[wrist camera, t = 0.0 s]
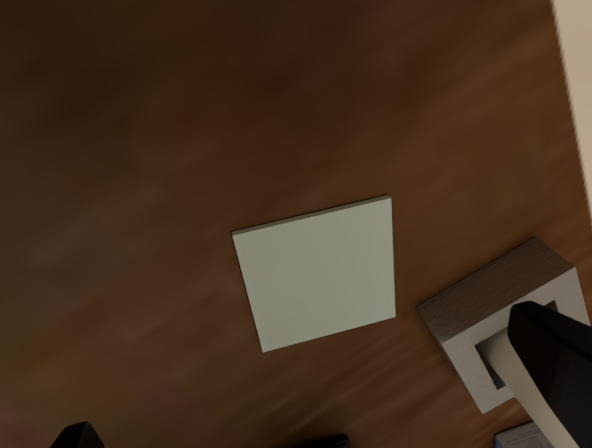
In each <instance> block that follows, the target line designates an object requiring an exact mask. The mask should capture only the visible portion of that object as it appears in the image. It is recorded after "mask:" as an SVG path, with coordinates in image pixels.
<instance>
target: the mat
mask: <svg viewBox="0 0 592 448" xmlns="http://www.w3.org/2000/svg"><path fill="white" fill-rule="evenodd" d="M232 236H233V240H234V244H235V248H236V252H237V255H238V259H239V263H240V267H241V271H242V274H243V278H244V282H245V286H246V290H247V294H248V297H249V301H250V305H251V309H252V313H253V316H254V320H255V324H256V328H257V332H258V336H259V339H260V343H261V347H262V351H263V352H266V351H270V350H274V349H278V348H281V347H285V346H289V345H292V344H296V343H300V342H304V341H307V340H311V339H315V338H319V337H322V336H326V335H330V334H334V333H337V332H341V331H345V330H348V329H352V328H356V327H360V326H363V325H367V324H371V323H375V322H378V321H382V320H386V319H389V318H393V317H395V291H394V264H393V237H392V209H391V197H390V196H389V195H386V196H382V197H378V198H373V199H369V200H365V201H361V202H356V203H352V204H348V205H344V206H339V207H335V208H331V209H327V210H323V211H318V212H314V213H310V214H306V215H301V216H297V217H293V218H289V219H284V220H280V221H276V222H272V223H267V224H263V225H259V226H255V227H250V228H246V229H242V230H238V231H234V232H232Z"/></svg>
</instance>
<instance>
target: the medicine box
mask: <svg viewBox="0 0 592 448" xmlns="http://www.w3.org/2000/svg"><path fill="white" fill-rule="evenodd" d="M495 448H554V446H553V445H552V444H551V443H550V441H549V440H548V439H547V437H546V436H545V435H544V433H543V432H542V431H541V430H540V428H539V427H538V426H537V424H536V423H535V422H534V421H533V422H530V423H527V424H524V425H521V426H518V427H515V428H513V429H510V430H507V431H504V432H502V433H498V434H496V435H495Z"/></svg>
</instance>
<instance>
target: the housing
mask: <svg viewBox="0 0 592 448" xmlns="http://www.w3.org/2000/svg"><path fill="white" fill-rule="evenodd" d="M524 301H534V302H536V303H539V304H541V305H543V306H545V307H548V308H550V309H552V310H555V311H557V312H559V313H561V314H564V315H566V316H568V317H571V318H573V319H575V320H577V321H580V322H582V323H584V324H587V325H589V326H590V322H589V318H588V314H587V311H586V307H585V303H584V299H583V295H582V291H581V287H580V284H579V280H578V276H577V272H576V268H575V266H573V265H572V264H571V263H569V262H568V261H567V260H565V259H564V258H563V257H562V256H560V255H559V254H558V253H556V252H555V251H554V250H552V249H551V248H550V247H548V246H547V245H546V244H544V243H543V242H542V241H540V240H539V239H538V238H536V237H534V238H532V239H530V240H529V241H527V242H525V243H524V244H522V245H520V246H519V247H517V248H515V249H514V250H512V251H510V252H508V253H507V254H505V255H503V256H502V257H500V258H498V259H497V260H495V261H493V262H491V263H490V264H488V265H486V266H485V267H483V268H481V269H480V270H478V271H476V272H475V273H473V274H471V275H469V276H468V277H466V278H464V279H463V280H461V281H459V282H458V283H456V284H454V285H452V286H451V287H449V288H447V289H446V290H444V291H442V292H441V293H439V294H437V295H435V296H434V297H432V298H430V299H429V300H427V301H425V302H424V303H422V304H420V305H419V306H417V307H416V308H417V309H418V311H419V313H420V315H421V316H422V318H423V320H424V321H425V323H426V325H427V326H428V328H429V330H430V331H431V333H432V335H433V337H434V338H435V340H436V342H437V343H438V345H439V347H440V348H441V350H442V352H443V353H444V355H445V357H446V359H447V360H448V362H449V364H450V365H451V367H452V369H453V370H454V372H455V374H456V375H457V377H458V379H459V380H460V382H461V383H462V385H463V386H464V388H465V389H466V391H467V392H468V394H469V395H470V397H471V398H472V399H473V401H474V402H475V404H476V405H477V407H478V408H479V410H480V411H481V413H482V414H484V413H486V412H487V411H489V410H491V409H493V408H495V407H496V406H498V405H500V404H502V403H504V402H505V401H507V400H509V399H511V398H513V397H514V395H513V393H512V392H511V391H510V389H509V388H508V387H507V386H506V384H505V383H504V382H503V380H502V379H501V378H500V377H499V375H498V374H497V373H496V371H495V370H494V369H493V368H492V366H491V365H490V364H489V362H488V361H487V360H486V358H485V357H484V356H483V355H482V353H481V352H480V351H479V349H476V348H475V346H474V345H476V344H478V343H479V342H481V341H483V340H485V339H486V338H488V337H490V336H492V335H493V334H495V333H497V332H499V331H500V330H502V329H504V328H506V327H507V326H508V320H509V313H510V308H511V307H512V305H514V304H517V303H520V302H524Z"/></svg>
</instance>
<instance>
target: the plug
mask: <svg viewBox="0 0 592 448" xmlns="http://www.w3.org/2000/svg"><path fill="white" fill-rule="evenodd" d="M507 327H508V326H507ZM507 327H506V328H504V329H502V330H500V331H499V332H497V333H495V334H493V335H492V336H490V337H488V338H486V339H485V340H483V341H481V342H479V343H478V344H476V345H475V346H476V347H477V348H478V349H479V351H480V352H481V353H482V355H483V356H484V357H485V358H486V360H487V361H488V362H489V364H490V365H491V366H492V368H493V369H494V370H495V371H496V373H497V374H498V375H499V377H500V378H501V379H502V380H503V382H504V383H505V384H506V386H507V387H508V388H509V389H510V391H511V392H512V393H513V395H514V396H515V397H516V399H517V400H518V401H519V402H520V404H521V405H522V406H523V408H524V409H525V410H526V411H527V413H528V414H529V415H530V417H531V418H532V419H533V421H534V422H535V423H536V424H537V426H538V427H539V428H540V430H541V431H542V432H543V433H544V435H545V436H546V437H547V439H548V440H549V441H550V443H551V444H552V445H553V446H554V448H579V447H578V445H577V444H576V443H575V441H574V440H573V438H572V437H571V436H570V434H569V433H568V432H567V430H566V429H565V428H564V426H563V425H562V424H561V422H560V421H559V420H558V418H557V417H556V416H555V414H554V413H553V411H552V410H551V409H550V407H549V406H548V404H547V403H546V401H545V400H544V398H543V397H542V395H541V393H540V392H539V390H538V388H537V387H536V385H535V383H534V382H533V380H532V378H531V377H530V375H529V373H528V372H527V370H526V368H525V367H524V365H523V363H522V362H521V360H520V358H519V357H518V355H517V353H516V352H515V350H514V348H513V347H512V345H511V343H510V341H509V339H508V336H507Z"/></svg>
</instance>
